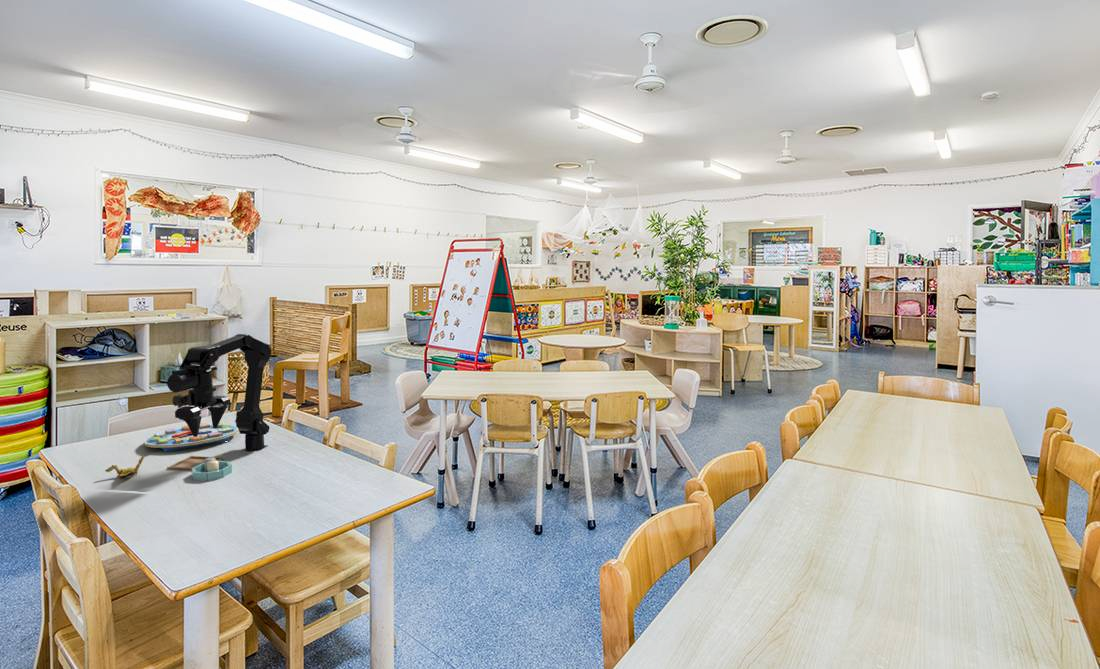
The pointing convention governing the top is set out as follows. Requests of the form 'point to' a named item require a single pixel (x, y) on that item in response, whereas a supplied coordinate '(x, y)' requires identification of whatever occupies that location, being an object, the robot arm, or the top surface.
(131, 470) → the olive plastic animal figure
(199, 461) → the parts tray
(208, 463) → the sand beige cylinder
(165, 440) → the shape sorting clock
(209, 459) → the grey rounded cylinder
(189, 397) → the robot arm
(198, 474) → the bowl
